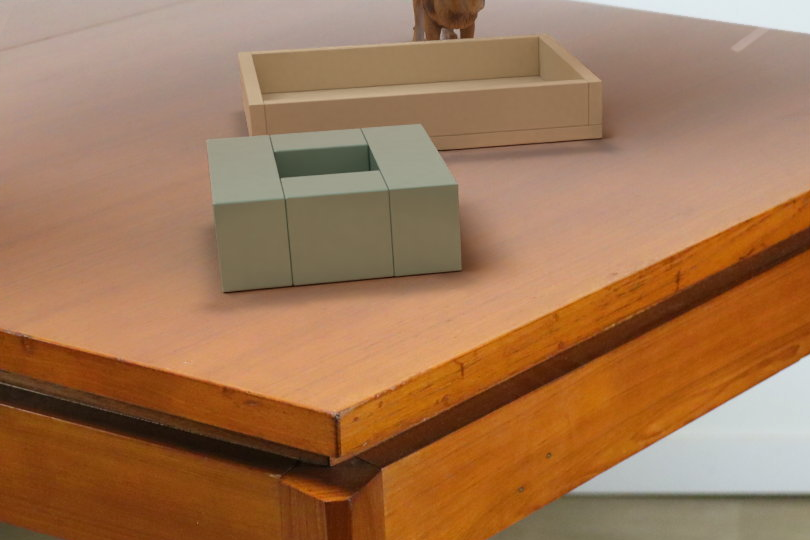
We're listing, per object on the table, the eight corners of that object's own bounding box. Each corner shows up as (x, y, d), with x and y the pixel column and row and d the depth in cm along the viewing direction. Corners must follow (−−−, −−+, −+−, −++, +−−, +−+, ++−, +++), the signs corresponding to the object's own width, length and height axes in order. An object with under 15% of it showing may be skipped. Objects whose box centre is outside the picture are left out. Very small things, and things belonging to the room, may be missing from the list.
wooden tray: (254, 164, 83) (248, 104, 81) (243, 104, 95) (237, 52, 93) (602, 138, 87) (602, 81, 85) (549, 84, 99) (548, 33, 97)
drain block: (222, 292, 65) (212, 203, 63) (214, 218, 74) (205, 139, 72) (462, 270, 67) (458, 183, 65) (425, 201, 76) (421, 123, 75)
